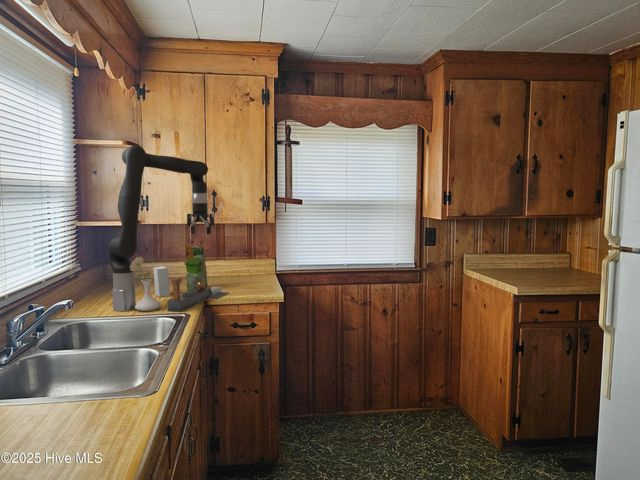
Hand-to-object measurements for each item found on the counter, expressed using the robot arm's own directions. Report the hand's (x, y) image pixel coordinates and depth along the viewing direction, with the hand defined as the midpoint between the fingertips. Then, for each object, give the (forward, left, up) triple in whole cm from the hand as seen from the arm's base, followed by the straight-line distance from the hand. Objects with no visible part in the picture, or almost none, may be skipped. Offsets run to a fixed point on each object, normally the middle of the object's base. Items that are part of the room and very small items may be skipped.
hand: (200, 234), depth 242 cm
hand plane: (-18, -3, -32) cm, 37 cm away
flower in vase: (-31, +11, -32) cm, 46 cm away
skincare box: (-3, +22, -32) cm, 39 cm away
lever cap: (+3, -4, -32) cm, 32 cm away
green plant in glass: (+14, +12, -32) cm, 37 cm away
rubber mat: (+3, -4, -32) cm, 32 cm away
